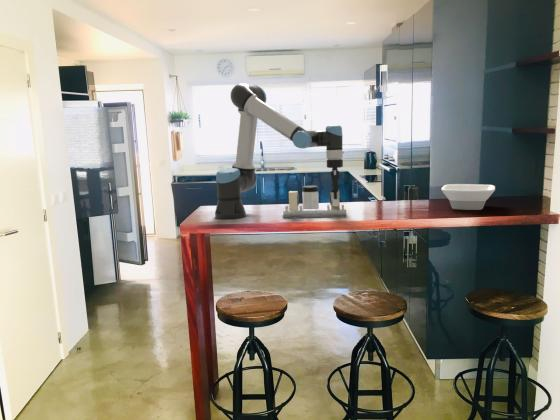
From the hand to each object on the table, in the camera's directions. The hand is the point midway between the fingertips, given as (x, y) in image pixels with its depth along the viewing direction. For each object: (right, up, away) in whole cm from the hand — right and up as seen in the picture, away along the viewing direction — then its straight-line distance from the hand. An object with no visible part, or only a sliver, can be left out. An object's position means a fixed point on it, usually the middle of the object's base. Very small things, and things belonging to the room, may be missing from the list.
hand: (335, 203), depth 219 cm
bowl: (+67, -2, +9) cm, 67 cm away
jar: (-10, -3, +23) cm, 25 cm away
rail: (-10, -6, +2) cm, 12 cm away
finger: (0, -3, 0) cm, 3 cm away
